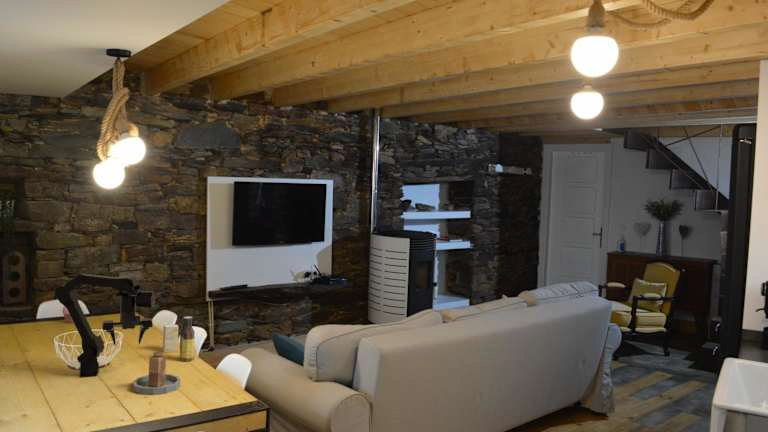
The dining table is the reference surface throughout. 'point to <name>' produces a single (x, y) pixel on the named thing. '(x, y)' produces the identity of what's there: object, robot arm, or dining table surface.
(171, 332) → the skincare box
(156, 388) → the slate dish
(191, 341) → the sauce bottle
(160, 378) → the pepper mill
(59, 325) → the dining table surface
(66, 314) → the cupcake
